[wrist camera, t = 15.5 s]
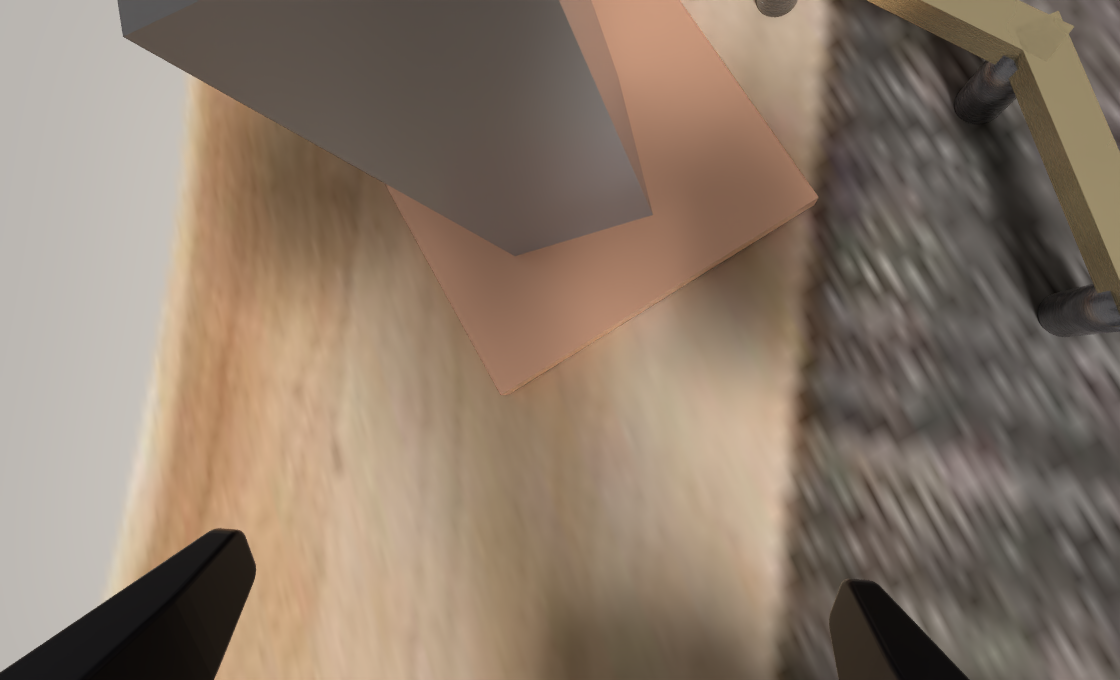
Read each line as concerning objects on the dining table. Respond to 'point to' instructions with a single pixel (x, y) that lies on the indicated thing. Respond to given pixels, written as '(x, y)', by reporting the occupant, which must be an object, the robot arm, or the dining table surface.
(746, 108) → the terracotta tile
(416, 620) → the dining table surface
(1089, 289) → the bent wire
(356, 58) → the gray pillar
